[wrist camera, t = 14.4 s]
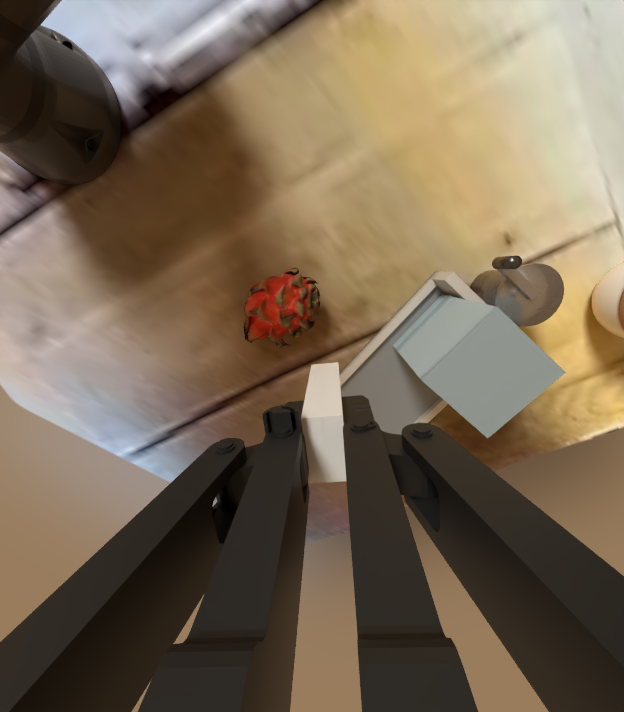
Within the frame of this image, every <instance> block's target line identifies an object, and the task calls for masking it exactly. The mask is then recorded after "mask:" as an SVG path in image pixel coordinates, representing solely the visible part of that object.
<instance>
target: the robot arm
mask: <svg viewBox="0 0 624 712" xmlns="http://www.w3.org/2000/svg"><path fill="white" fill-rule="evenodd" d="M61 1H62V0H0V151H1V152H2V153H4V154H5V155H7V156H8V157H10V158H11V159H12V160H14V161H15V162H16V163H17V164H18V165H20V166H21V167H22V168H24V169H25V170H27V171H29V172H31V173H33V174H35V175H37V176H39V177H42V178H45V179H48V180H51V181H54V182H58V183H62V184H70V185H74V184H82V183H86V182H89V181H91V180H93V179H95V178H96V177H98V176H99V175H101V174H102V173H103V172H104V171H105V170H106V169H107V168H108V166H109V165H110V164H111V162H112V160H113V158H114V157H115V154H116V152H117V149H118V145H119V141H120V134H121V118H120V110H119V106H118V102H117V99H116V95H115V93H114V90H113V88H112V86H111V84H110V82H109V80H108V78H107V77H106V75H105V74H104V72H103V71H102V69H101V68H100V67H99V66H98V64H97V63H96V62H95V61H94V60H93V59H92V58H91V57H90V56H89V55H87V54H86V53H85V52H84V51H83V50H82V49H81V48H79V47H78V46H77V45H76V44H75V43H74V42H72V41H71V40H69V39H68V38H66V37H65V36H63V35H62V34H60V33H58V32H56V31H53V30H51V29H49V28H46V27H44V26H41V23H42V22H43V21H44V20H45V19H46V18H47V17H48V15H49V14H50V13H51V12H52V11H53V10H54V9H55V7H56V6H57V5H58V4H59V3H60V2H61ZM262 415H263V421H264V426H265V432H266V435H265V438H264V441H263V443H260V444H257V445H254V446H250V447H246V448H245V445H244V441H242V440H241V439H237V438H227V439H223V440H220V441H219V442H216V443H214V444H213V445H212V446H210V447H209V448H208V449H207V450H206V451H205V452H204V453H203V454H202V455H200V456H199V457H198V458H197V459H196V460H195V461H194V462H193V463H192V464H191V465H190V466H189V467H188V468H187V469H185V470H184V471H183V472H182V473H181V474H180V475H179V476H178V477H177V478H176V479H175V480H174V481H173V482H172V483H170V484H169V485H168V486H167V487H166V488H165V489H164V490H163V491H162V492H161V493H160V494H159V495H158V496H157V497H156V498H154V499H153V500H152V501H151V502H150V503H149V504H148V505H147V506H146V507H145V508H144V509H143V510H142V511H141V512H139V513H138V514H137V515H136V516H135V517H134V518H133V519H132V520H131V521H130V522H129V523H128V524H127V525H125V527H123V528H122V529H121V530H120V531H119V532H118V533H117V534H116V535H115V536H114V537H113V538H112V539H110V540H109V541H108V542H107V543H106V544H105V545H104V546H103V547H102V548H101V549H100V550H99V551H98V552H97V553H95V554H94V555H93V556H92V557H91V558H90V559H89V560H88V561H87V562H86V563H85V564H84V565H83V566H82V567H80V568H79V570H77V571H76V572H75V573H74V574H73V575H72V576H71V577H70V578H69V579H68V580H67V581H66V582H65V583H63V584H62V585H61V586H60V587H59V588H58V589H57V590H56V591H55V592H54V593H53V594H52V595H50V596H49V597H48V598H47V599H46V600H45V601H44V602H43V603H42V604H41V605H40V606H39V607H38V608H37V609H35V610H34V611H33V612H32V614H30V615H29V616H28V617H27V618H26V619H25V620H24V621H23V622H21V624H19V625H18V626H17V627H16V628H15V629H14V630H13V631H12V632H11V633H10V634H9V635H8V636H7V637H6V638H4V639H3V640H2V641H1V642H0V712H131V711H132V710H133V708H134V707H135V705H136V703H137V702H138V700H139V698H140V696H141V695H142V694H143V692H144V690H145V689H146V687H147V685H148V684H149V682H150V681H151V682H150V685H149V687H148V689H147V692H146V694H145V696H144V699H143V701H142V703H141V705H140V708H139V710H138V712H290V704H291V692H292V680H293V670H294V658H295V647H296V635H297V624H298V614H299V603H300V590H301V580H302V569H303V558H304V546H305V535H306V524H307V513H308V502H309V486H308V474H309V481H310V483H326V482H342V481H347V495H348V509H349V522H350V536H351V549H352V562H353V577H354V591H355V605H356V618H357V632H358V657H359V671H360V687H361V701H362V712H478V710H477V707H476V704H475V701H474V698H473V695H472V692H471V689H470V686H469V683H468V680H467V677H466V674H465V671H464V668H463V665H462V662H461V659H460V657H459V654H458V651H457V649H456V647H455V645H454V643H453V641H452V640H451V638H446V637H445V635H444V633H443V630H442V627H441V624H440V621H439V618H438V614H437V611H436V608H435V605H434V601H433V598H432V595H431V592H430V588H429V585H428V582H427V579H426V576H425V572H424V569H423V566H422V563H421V559H420V556H419V553H418V550H417V547H416V543H415V540H414V537H413V534H412V530H411V527H410V524H409V520H408V517H407V514H406V511H405V507H404V504H403V501H402V498H401V495H404V498H405V501H406V503H407V504H408V506H409V507H410V509H411V510H412V512H413V513H414V515H415V516H416V517H417V519H418V521H419V522H420V523H421V525H422V526H423V528H424V529H425V531H426V532H427V534H428V535H429V537H430V538H431V540H432V541H433V543H434V544H435V545H436V547H437V548H438V550H439V551H440V553H441V554H442V555H443V557H444V559H445V560H446V561H447V563H448V564H449V566H450V567H451V568H452V570H453V572H454V573H455V575H456V576H457V578H458V579H459V581H460V582H461V583H462V585H463V586H464V588H465V589H466V591H467V592H468V594H469V595H470V597H471V598H472V600H473V601H474V602H475V604H476V605H477V607H478V608H479V610H480V611H481V613H482V614H483V616H484V617H485V619H486V620H487V622H488V623H489V625H490V626H491V627H492V629H493V630H494V632H495V633H496V635H497V636H498V638H499V639H500V640H501V642H502V644H503V645H504V646H505V648H506V649H507V651H508V652H509V654H510V655H511V657H512V658H513V660H514V661H515V663H516V664H517V666H518V667H519V668H520V670H521V671H522V673H523V674H524V676H525V677H526V679H527V680H528V682H529V683H530V685H531V686H532V687H533V689H534V690H535V692H536V693H537V695H538V696H539V698H540V699H541V701H542V702H543V704H544V705H545V707H546V708H547V709H548V711H549V712H624V576H623V575H621V574H620V573H619V572H618V571H616V570H615V569H614V568H613V567H611V566H610V565H609V564H608V563H607V562H605V561H604V560H603V559H601V558H600V557H599V556H598V555H596V554H595V553H594V552H593V551H592V550H590V549H589V548H588V547H587V546H585V545H584V544H583V543H581V542H580V541H579V540H578V539H577V538H575V537H574V536H573V535H571V534H570V533H569V532H568V531H567V530H565V529H564V528H563V527H562V526H561V525H559V524H558V523H557V522H555V521H554V520H553V519H552V518H551V517H549V516H548V515H547V514H546V513H544V512H543V511H542V510H541V509H539V508H538V507H537V506H536V505H534V504H533V503H532V502H531V501H529V500H528V499H527V498H526V497H524V496H523V495H522V494H521V493H519V492H518V491H517V490H516V489H514V488H513V487H512V486H511V485H509V484H508V483H507V482H506V481H505V480H503V479H502V478H501V477H499V476H498V475H497V474H496V473H495V472H493V471H492V470H491V469H490V468H488V467H487V466H486V465H485V464H483V463H482V462H481V461H480V460H478V459H477V458H476V457H475V456H473V455H472V454H471V453H470V452H468V451H467V450H466V449H465V448H463V447H462V446H461V445H460V444H458V443H457V442H456V441H455V440H454V439H452V438H451V437H450V436H449V435H447V434H446V433H445V432H444V431H442V430H441V429H440V428H438V427H436V426H434V425H431V424H428V423H413V424H410V425H407V426H405V427H404V428H403V429H402V432H401V434H402V435H400V434H392V433H387V432H384V431H382V430H380V426H379V425H378V423H377V422H375V420H374V416H373V413H372V410H371V406H370V403H369V400H368V398H366V397H365V396H363V395H357V396H345V397H341V386H340V376H339V366H338V362H335V363H325V364H314V365H311V369H310V375H309V380H308V385H307V390H306V395H305V400H304V401H296V402H288V403H287V404H285V405H281V406H276V407H273V408H270V409H268V410H266V411H265V412H264V413H263V414H262ZM400 494H401V495H400ZM215 497H216V498H217V503H216V504H215V505H214V506H213V507H212V505H213V501H214V499H215ZM204 593H205V594H204ZM203 595H204V597H203V600H202V602H201V605H200V608H199V610H198V613H197V615H196V618H195V621H194V623H193V626H192V628H191V631H190V633H189V635H188V637H187V639H186V640H185V641H184V642H183V643H180V644H173V643H174V642H175V640H176V638H177V637H178V635H179V634H180V632H181V630H182V629H183V627H184V626H185V624H186V622H187V621H188V619H189V617H190V616H191V614H192V613H193V611H194V609H195V608H196V606H197V604H198V603H199V601H200V600H201V598H202V596H203ZM152 677H153V678H152ZM151 679H152V680H151Z"/></svg>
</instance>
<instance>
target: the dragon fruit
mask: <svg viewBox="0 0 624 712" xmlns="http://www.w3.org/2000/svg"><path fill="white" fill-rule="evenodd" d="M298 273H299V270H298V268H291V269H289V270H286V271H284V272H283V273H282V275H281V276H280V277H276V276H272V277H268V278H266V279H264V280H263V281H262V282H260V283H257V284H255V285H253V286H252V288H251V290H250V292H251V294H250V296H249V298H248V300H247V302H246V305H245V316H246V320H245V323H244V333H245V339H246V340H247V341H249V342H251V341H252V342H253V341H254V340H261V339H263V338H264V337H266V336H269V338H270V339H271V341H272V342H275V343H276V345H277V346H278V345H280V343H281V344H282V345H283V346H281V347H280V348H287V347H289V346H291V345H289V344H287V343H285V342H284V341H283V340H282V337H283V336H284V334H285V333H287V332H289V333H290V334H291V335H292V336H293V337H297V338H299V337H301V336H302V331H301V327H303V328H305V329H306V330H308V329H309V328H313V326H314V323H315V322H314V321H310V320H309V319H315V318H317V317H318V313H317V311H316V310H317V309H318V308H319V306H320V302H319V301H318V300H319V291H318V288H317V287H316V286H315V285H314V284H315V283H317V282H318V281H317V282H316V281H315V280H314V279H312V278H307V277H302V275H296V274H298ZM317 284H318V283H317ZM299 326H300V327H299ZM298 327H299V328H298ZM248 332H249V336H248V335H247V334H248ZM278 340H279V341H278ZM252 342H251V343H252Z"/></svg>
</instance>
